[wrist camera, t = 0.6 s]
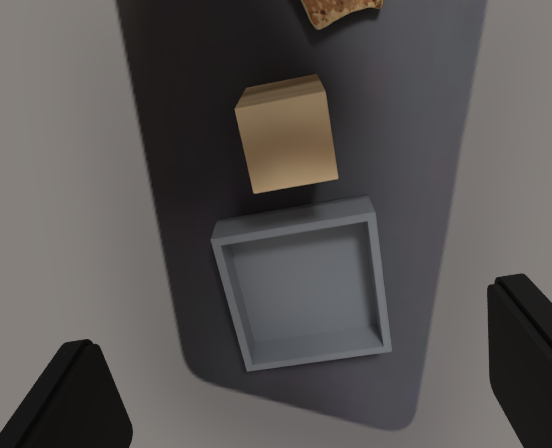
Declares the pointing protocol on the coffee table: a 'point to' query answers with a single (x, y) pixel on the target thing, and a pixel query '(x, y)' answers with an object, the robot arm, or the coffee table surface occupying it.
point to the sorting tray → (304, 283)
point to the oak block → (286, 134)
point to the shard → (334, 9)
